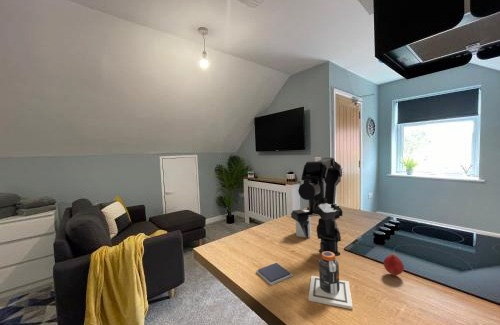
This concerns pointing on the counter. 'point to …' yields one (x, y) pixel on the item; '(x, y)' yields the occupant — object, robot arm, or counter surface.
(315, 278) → the board
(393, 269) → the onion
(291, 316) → the counter surface
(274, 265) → the ink pad
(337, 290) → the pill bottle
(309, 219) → the supplement box
